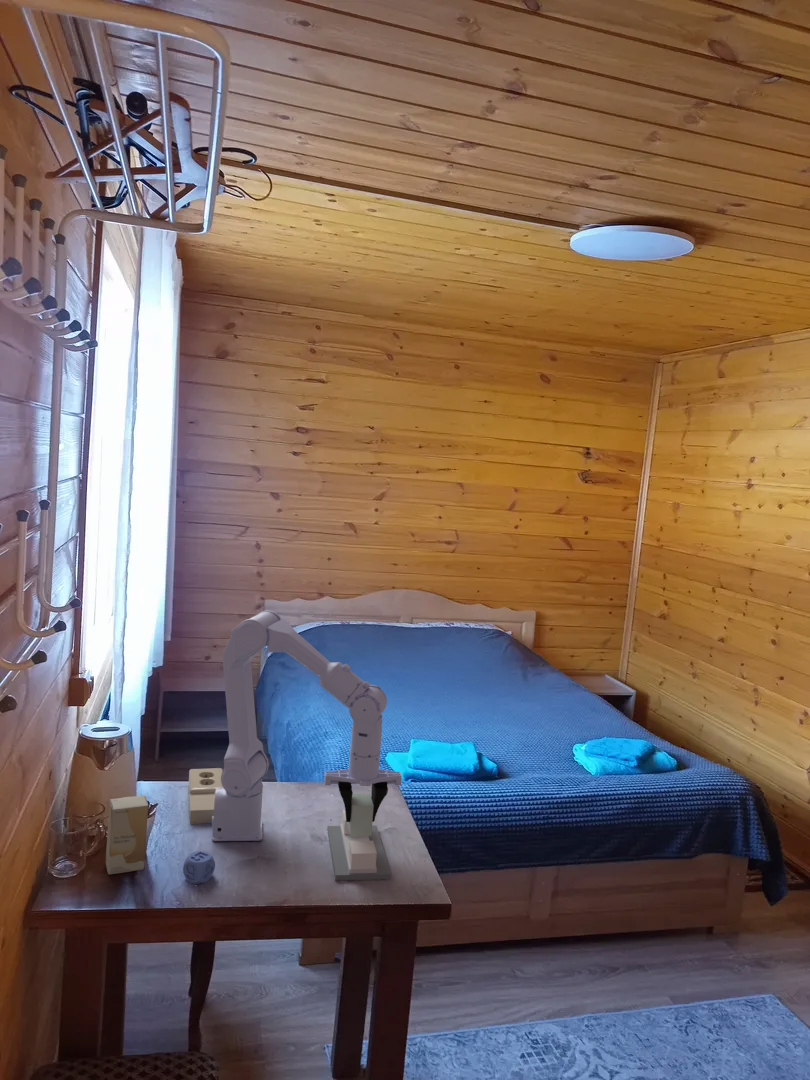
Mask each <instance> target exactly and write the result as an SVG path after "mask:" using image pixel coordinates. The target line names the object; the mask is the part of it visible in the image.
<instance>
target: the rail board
mask: <svg viewBox="0 0 810 1080" xmlns="http://www.w3.org/2000/svg"><path fill="white" fill-rule="evenodd" d="M341 814H342V815H341V823H340V825H328V826H327V831H328V832H327V837H328V843H329V849H330V855H331V862H332V863H331V864H332V869H333V876H334V881H368V880H369V881H371V880H374V881H375V880H378V881H379V880H391V872H390V869H389V865H388V860H387V857H386V854H385V851H384V847H383V842H382V840H381V837H380V836H381V835H380V833H379V829H378V827H377V826H378V825H372V832H371V836H350V833H349V828H348V824H347V822H346V813H345V808H343V809H342V813H341Z"/></svg>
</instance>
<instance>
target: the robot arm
mask: <svg viewBox="0 0 810 1080" xmlns="http://www.w3.org/2000/svg"><path fill="white" fill-rule="evenodd" d="M230 632H231V633H230V634H231V635H230V637H229V639H228V642H227V644H226V646H225V648H224V650H223V652H222V668H223V670H222V671H223V681H224V694H225V706H226V717H227V730H228V731H227V732H228V739H229V740H228V741H229V743H228V747H227V750H226V752H225V755H224V758H223V765H224V767H223V768H222V770H223V772H222V774H221V783H222V786H223V787H222V788H216V790H215V801H214V816H212V823H211V826H212V836H211V837H212V839H211V840H212V841H213V842H239V841H241V842H243V841H244V842H247V841H248V842H249V841H255V842H257V841H258V842H259V841H262V840H263V819H262V807H263V793H264V792H263V790H264V789H263V787H264V785H263V784H264V783H263V777H264V776H265V775H266V774H267V772H268V770H269V766H270V764H269V763H270V762H269V760H268V756H267V755H266V753H265V751H264V745H263V742H262V741H261V740H260V739H259V738H258V733H257V721H256V719H257V717H256V709H255V695H254V682H253V680H254V679H253V670H252V660H253V659H254V658H255V657H256V656H257V655H259V653H260V652H261V651H262V650H263V649H264V648H265V647H267V648H266V653H285V654H287V655H288V656H290V657H291V658H292V659H294V660H295V661H297V662H298V663H300V664H301V665H302V666H304V667H305V668H307V669H308V670H309V671H310V672H312V673H313V674H315V675H316V676H318V679H319V680H318V681H319V684H320V687H321V688H322V689H324V690H325V691H326V692H327V693H328V694H330V695H331V696H333V698H334V699H336V700H337V701H338V702H340V703H341V704H342V705H344V707H346V708H348V713H349V715H350V717H351V719H352V727H351V732H350V733H351V736H350V745H349V747H350V748H349V760H348V768H345V769H338V770H332V771H331V770H329V771H328V770H326V771H324V775H323V776H324V779H323V782H324V786H331V785H338V791H339V794H340V796H341V799H342V802H343V805H344V809H345V813H346V822H350V819H351V801H352V794H354V792H353V786H352V785H360V786H362V787H371V793H370V795H371V799H372V802H373V805H374V807H373V820H372V823H374V822H375V821H376V817H377V813H378V811H379V808H380V806H381V804H382V802H383V801H384V799H385V798H386V797H387V795H388V791H389V787H388V785H389V784H390V785H392V784H394V785H395V786H401V785H402V778H403V776H402V775H403V774H402V773H401V771H394V770H386V769H380V759H381V758H380V757H381V749H382V748H381V747H382V746H381V745H382V735H383V734H382V732H383V727H382V725H383V715H382V713H383V712H384V711H385V709H386V707H387V703H388V699H387V695H386V694H385V692H384V691H383V690H382V689H381V687H380V686H378V685H376V684H371V683H370V682H368V681H367V680H366V681H364V680H363V679H362V678H361V677H359V676H358V675H357V674H356V673H354V671H353V672H352V671H351V668H352V667H351V666H350V665H349V664H348V663H345V664H343V663H342V662H340V661H336V662H335V661H334V662H331V661H330V660H328V659H327V658H326V656H324V655H323V654H322V653H321V652H319V651H318V650H317V649H316V648H315V647H314V646H313V645H311V643H309V642H308V641H307V640H306V639H305V638H304V637H303V636H302V635H300V634H299V633H298V632H297V631H296V630H295V628H293V626H292V625H291V624H290V622H289V621H287V620H286V619H284V618H281V616H280V615H279V614H278V613H276V612H275V611H272V610H262V611H260V612H259V613H257V614H256V615H254V616H252V617H250V618H248V619H245V620H242V621H241V622H240V623H239V624H238V625H236V626H235V627H234V628H233V629H231V631H230Z"/></svg>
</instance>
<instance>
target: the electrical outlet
mask: <svg viewBox="0 0 810 1080" xmlns="http://www.w3.org/2000/svg"><path fill="white" fill-rule="evenodd" d="M222 772H223V768H220V767H216V768H215V767H214V768H212V767H211V768H190V769H189V771H188V774H189V775H188V813H189V814H188V815H189V816H188V817H189V818H188V819H189V820H188V821H189V824H190V825H191V824H192V825H193V824H207V823H206V822H212V816H214V801H215V790H216V788H222V787H223V786H222V783H221V774H222Z"/></svg>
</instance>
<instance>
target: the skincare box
mask: <svg viewBox="0 0 810 1080" xmlns="http://www.w3.org/2000/svg"><path fill="white" fill-rule="evenodd" d="M148 814H149V803H148V799H147V796H146V795H135V796H124V797H119V798H118V797H117V798H116V797H115V798H109V804H108V822H107V832H106V833H107V834H106V835H107V836H106V851H105V867H106V871H107V874H108V875H114V874H122V873H130V872H134V871H135V872H136V871H142V870H144V869H145V860H146V849H147V848H146V847H147V846H146V845H147V834H148V833H147V831H148V830H147V829H148Z"/></svg>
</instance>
